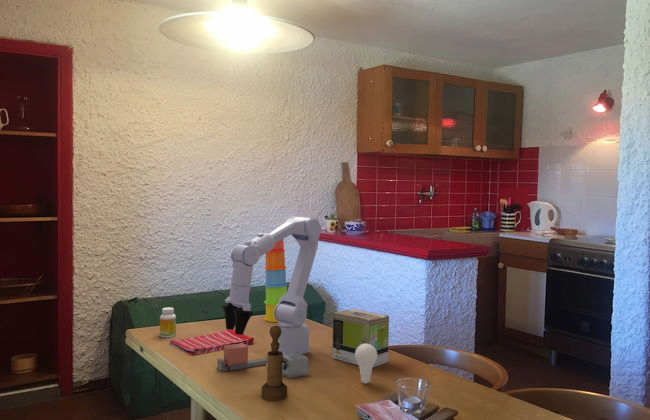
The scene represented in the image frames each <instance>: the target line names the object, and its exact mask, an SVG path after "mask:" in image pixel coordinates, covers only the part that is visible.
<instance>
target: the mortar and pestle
mask: <svg viewBox="0 0 650 420" xmlns="http://www.w3.org/2000/svg"><path fill="white" fill-rule="evenodd" d="M269 335H270V337H271V338H272V342H271V343H270V349H271V350H269V351H268V352H267V357H266V358H267V369H266V382H265V383H264V384H263V385H262V386H261V390H260V391H261V392H260V396H261V398H262V399H264V400H267V401H281V400H284V399H286V398H287V397H288V386H287V385H286V384H285V383H284V382H283V374H282V360H283V353H282V352H281V351H278V350H279V346H280V344H279V337H280V335H281V328H280V327H279V325H273V326H271V327H270V329H269Z"/></svg>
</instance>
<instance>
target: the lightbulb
mask: <svg viewBox="0 0 650 420" xmlns="http://www.w3.org/2000/svg"><path fill="white" fill-rule="evenodd" d="M355 358H356V361H357V363H358V365H357V366H358V367H359V373H360V381H361V383H362V384H364V385H365V384H366V385H367V384H368V383H370V382H371V376H372V371H373V368H374V367H373V365H374V363H375V362H376V360H377V351H376V349H375V348H374V347H373V346H372V345H370V344H362V345H360V346H359V347H358V348H357V349H356V351H355ZM372 367H373V368H372Z"/></svg>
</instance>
